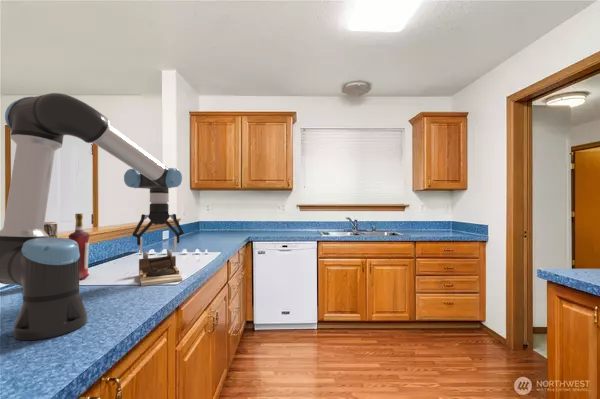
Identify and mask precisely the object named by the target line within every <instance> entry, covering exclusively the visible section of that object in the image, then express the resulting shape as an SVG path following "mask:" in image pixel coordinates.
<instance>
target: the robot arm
mask: <svg viewBox="0 0 600 399" xmlns="http://www.w3.org/2000/svg"><path fill="white" fill-rule="evenodd" d="M4 118H5V119H4V120H5V123H6V126H7V127H8V128H9V130H10V139H11V140H12V141H13V142H14V144H16V147H15V151H14V152H15V153H14V160H13V163H12V165H13V166H12V171H11V172H12V173H11V178H10V185H9V190H8V196H7V201H6V208H5V214H4V215H5V216H4V222H3V226H2V229H0V284H3V285H12V286H13V285H14V286H15V285H16V286H22V305H21V307H20V310H19V312H18V315H17V318H16V321H15V323H14V325H13V338H14V339H16V340H20V341H36V340H43V339H50V338H54V337H59V336H62V335H65V333H66V334H68V332H69V333H71V332H73V331H76V330H78V329H80V328H82V327H84V326H85V325H86V324H87V322H88V312H87V309H86V308H85V305H84V303H83V300H82V298H81V294H80V280H79V257H80V253H79V246H78V243H77V242H76V241H74V240H71V239H69V238H68V237H67V238H65V237H57V238H53V237H50V238H49V235H48V234H47V233H46V232H45V231H44V222H46V214H47V208H48V207H47V206H48V199H49V193H50V186H51V179H52V175H53V174H52V173H53V166H54V158H55V152H56V151H57V150H59V149H61V148H62V147H63V141H64V136H72V137H73V138H74V137H75V138H77V139H80V140H82V141H83V142H85V143H87V144H95V145H96V146H97V147H98V148H101V149H102V150H104V151H105V152H106V153H108V154H110V155H111V156H112V157H114V158H116V159H117V160H119V161H121V162H122V163H123V164H125V165H127V166H128V167H130V168H128V169H127V170H125V172H124V175H123V181H124V184H125V185H126V187H129V188H132V189H148V190H149V203H150V204H149V212H148V214H143V213H142V214H141V215H140V220H139V222H138V223H137V225H136V227H135V229H134V231H133V232H132V234H131V235H132V237H135V238H136V244H137V246H139V254H143V237H142V236H143V235H144V234H145V232H147V231H148V229H149V228H151V226H153V225H157V226H158V225H164V224H165V225H166V226H167V227H168V228H169V229H170V230H171V231H172V232H173V233H174V234H175V235H173V251H175V252H177V251H178V249H177V248H178V244H179V243H180V236H181V235H184V230H183V229H182V227H181V225H180V222H179V221H178V219H177V214H176V213H173V214H169V205H170V204H169V198H170V197H169V196H170V194H169V193H170V192H169V190H170V189H172V188H177V187H180V185H181V184H182V181H183V174H182V172H181V171H180V170H179V169H178V168H175V167H167V165H165V164H163V163H162V162H160V160H158V159H157V158H156V157H154V156H153V155H151V154H150V153H149V152H147V151H146V150H144V148H143V147H140V145H138V144H137V143H135V142H134V141H132V140H131V139H130V138H129V137H127V136H126V135H125V134H123V133H122V132H121V131H119V130H118V129H117V128H115V127H114V126H113V125H111V124H110V120H109V118H108V117H107V116H105V115H104V114H102V113H101V112H100V111H99V110H97V109H96V108H94V107H92V106H91V105H89V104H87V103H85V102H84V101H82V100H81V99H78V98H76V97H74V96H72V95H69V94H65V93H59V92H51V93H47V94H42V95H36V96H26V97H25V96H24V97H22V98H19V99H18V100H14V101H13V102H11V103H10V104H9V105H8V106H7V107H6V109H5V114H4ZM147 219H149V220H150V221H149V222H148V223H147V224H146V225H145V226H144V227H143V229H141V230H140V228H141V227H142V226H143V223H144V222H145V220H147ZM169 219H171V220H173V222H174V224H175V226H176V228H174V226H173V225H172V224H171V223H170V222H169V221H168V220H169ZM139 230H140V232H139ZM177 230H178V231H179V232H178V231H177ZM138 232H139V233H138Z"/></svg>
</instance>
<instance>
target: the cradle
mask: <svg viewBox="0 0 600 399" xmlns="http://www.w3.org/2000/svg"><path fill="white" fill-rule="evenodd" d="M172 251H173V250H172V249H167V250H166V256H169V255H170V256H171V261H172V264H173V266H172V267H171V268H170V269H172V270H173V271H174V272H175V274H172V275H165V276H152V277H147V276H146V274H147V273H148V272H150V271H154V270H153V269H152V268H156V269H157V270H158V269H163V268H168V267H169V266H171V262H170V260H164V261H158V262H153V263H151V266H152V268H151V267H150V263H149V258H151V259H152V258H153V257H149V252H148V251H142V258H139V259H138V277H139V280H140V281H139V282H140V286H141V287H143V286H152V285H161V284H167V283H168V284H169V283H175V282H174V281H177V282H183V277H182V276H181V274H180V270H179V268H178V267H177V266H176V265H177V264H176V258H177V257H176V255H173V254H172V253H173V252H172ZM158 257H159V256H158ZM158 257H156V258H158Z"/></svg>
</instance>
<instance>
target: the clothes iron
mask: <svg viewBox="0 0 600 399" xmlns="http://www.w3.org/2000/svg"><path fill="white" fill-rule="evenodd" d="M148 258H149V263H150V267H151V268H152V266H151V263H153V262H158V261H164V260H170V262H171V266H169V267H168V268H163V269H158V270H157V269H156V268H152V269H153V270H154V271H150V272H148V273H147V274H146V276H147V277H152V276H165V275H172V274H175V272H174V271H173V270H172V269H170V268H171V267H172V266H173V264H172V261H171V256H170V255H169V256H167V255H165V256H158V258H157V257H148ZM151 258H152V259H151Z"/></svg>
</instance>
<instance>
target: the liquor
mask: <svg viewBox="0 0 600 399" xmlns="http://www.w3.org/2000/svg"><path fill="white" fill-rule="evenodd" d="M74 215H75V225H74V226H75V227H74V232H72V233H70V234H69V235H68V239H71V240H74V241H76V242H77V243H78V246H79V253H80V257H79V281H82V279H83V280H86V279H87V278H88V277H89V276H90V274H89V255H90V254H89V252H90V236H91V235H90V233H88V232H87V231H84V224H83V219H84V213H75V214H74ZM85 278H86V279H85Z"/></svg>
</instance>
